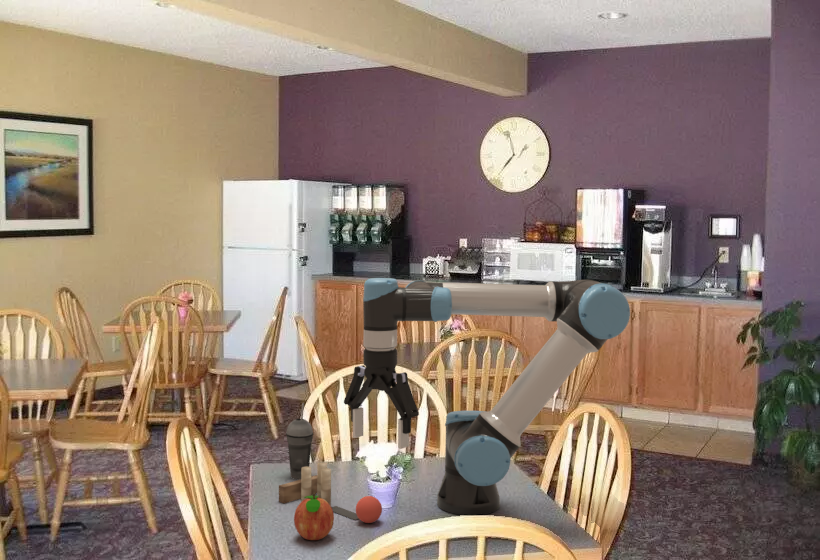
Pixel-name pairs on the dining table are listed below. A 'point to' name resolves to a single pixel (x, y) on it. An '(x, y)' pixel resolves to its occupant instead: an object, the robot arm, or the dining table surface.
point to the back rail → (295, 490)
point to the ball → (368, 509)
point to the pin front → (326, 485)
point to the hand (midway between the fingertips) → (380, 442)
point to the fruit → (313, 518)
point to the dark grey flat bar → (345, 512)
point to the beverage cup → (299, 444)
